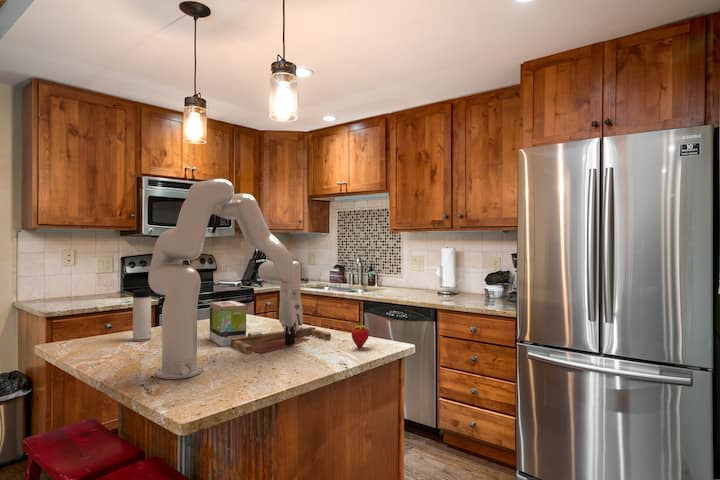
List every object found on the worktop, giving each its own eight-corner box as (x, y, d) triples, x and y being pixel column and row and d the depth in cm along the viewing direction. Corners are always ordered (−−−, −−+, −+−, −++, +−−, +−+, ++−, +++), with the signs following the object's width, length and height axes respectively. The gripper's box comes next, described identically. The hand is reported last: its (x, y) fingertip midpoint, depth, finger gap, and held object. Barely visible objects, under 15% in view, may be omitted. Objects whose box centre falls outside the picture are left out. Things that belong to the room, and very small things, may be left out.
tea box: (247, 343, 165) (247, 304, 165) (220, 347, 159) (220, 306, 159) (234, 336, 177) (234, 299, 177) (208, 339, 172) (208, 301, 172)
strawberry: (372, 347, 160) (372, 320, 160) (361, 352, 154) (361, 323, 154) (359, 345, 163) (359, 318, 163) (347, 349, 157) (347, 321, 157)
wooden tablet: (261, 356, 150) (261, 351, 150) (241, 351, 155) (241, 347, 155) (312, 341, 172) (312, 337, 172) (293, 337, 177) (293, 333, 177)
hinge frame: (330, 340, 172) (330, 329, 172) (246, 354, 149) (247, 342, 149) (311, 334, 182) (311, 324, 182) (230, 346, 160) (230, 335, 160)
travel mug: (155, 339, 171) (155, 287, 171) (138, 342, 165) (139, 289, 165) (145, 337, 174) (145, 286, 174) (129, 340, 168) (129, 288, 168)
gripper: (309, 295, 158) (309, 346, 158) (288, 291, 170) (288, 339, 170) (291, 297, 153) (291, 350, 154) (271, 293, 165) (271, 342, 165)
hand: (290, 344), depth 162 cm, fingers closed
